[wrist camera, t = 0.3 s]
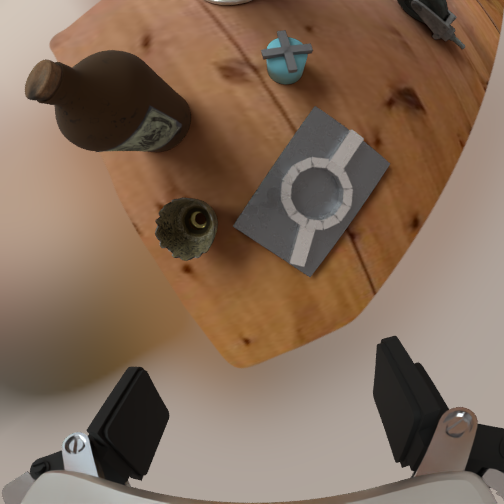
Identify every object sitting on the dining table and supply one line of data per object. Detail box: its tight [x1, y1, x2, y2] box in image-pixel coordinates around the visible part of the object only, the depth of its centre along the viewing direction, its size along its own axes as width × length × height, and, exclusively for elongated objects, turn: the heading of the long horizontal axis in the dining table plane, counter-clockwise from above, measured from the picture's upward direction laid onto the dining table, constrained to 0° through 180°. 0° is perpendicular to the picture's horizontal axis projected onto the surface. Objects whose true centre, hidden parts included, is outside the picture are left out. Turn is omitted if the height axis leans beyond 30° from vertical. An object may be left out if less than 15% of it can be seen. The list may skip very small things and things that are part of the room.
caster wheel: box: [397, 0, 465, 49], centre depth 21 cm, size 6×10×15 cm
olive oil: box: [25, 50, 191, 152], centre depth 23 cm, size 11×11×25 cm
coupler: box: [261, 30, 313, 84], centre depth 28 cm, size 5×5×7 cm
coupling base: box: [233, 106, 390, 277], centre depth 35 cm, size 20×13×4 cm, turn 147°
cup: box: [155, 198, 218, 261], centre depth 35 cm, size 8×7×8 cm
